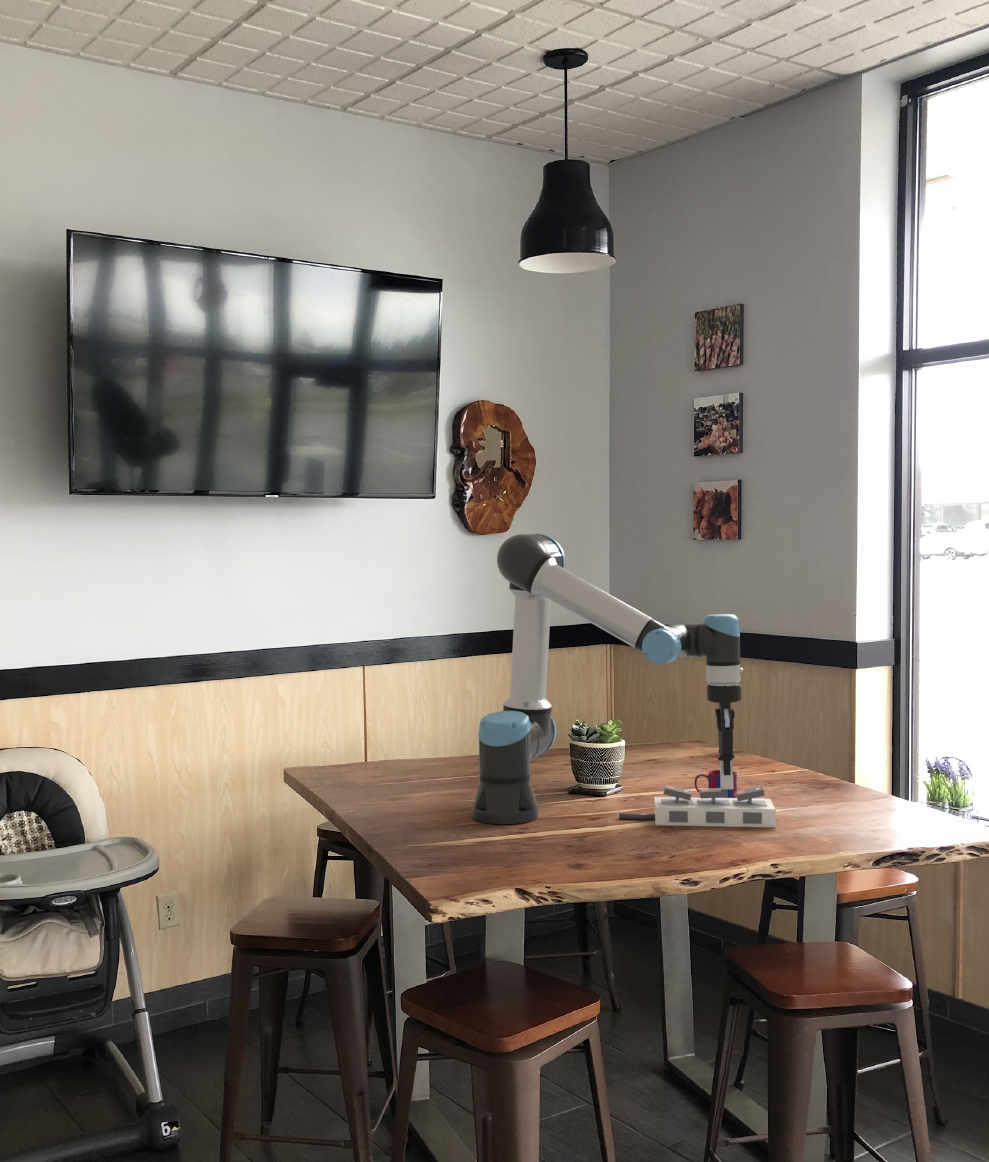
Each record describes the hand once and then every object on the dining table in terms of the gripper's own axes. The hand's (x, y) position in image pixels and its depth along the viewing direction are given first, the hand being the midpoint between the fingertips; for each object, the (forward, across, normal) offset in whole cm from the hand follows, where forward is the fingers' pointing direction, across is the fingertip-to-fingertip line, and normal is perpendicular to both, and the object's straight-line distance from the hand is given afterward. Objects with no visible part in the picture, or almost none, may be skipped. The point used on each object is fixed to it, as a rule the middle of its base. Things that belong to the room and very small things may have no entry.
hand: (727, 788), depth 251 cm
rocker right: (+1, 0, -5) cm, 5 cm away
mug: (+8, +20, +1) cm, 21 cm away
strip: (+7, 0, +7) cm, 10 cm away
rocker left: (+1, 0, +11) cm, 11 cm away
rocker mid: (+1, 0, +3) cm, 3 cm away
